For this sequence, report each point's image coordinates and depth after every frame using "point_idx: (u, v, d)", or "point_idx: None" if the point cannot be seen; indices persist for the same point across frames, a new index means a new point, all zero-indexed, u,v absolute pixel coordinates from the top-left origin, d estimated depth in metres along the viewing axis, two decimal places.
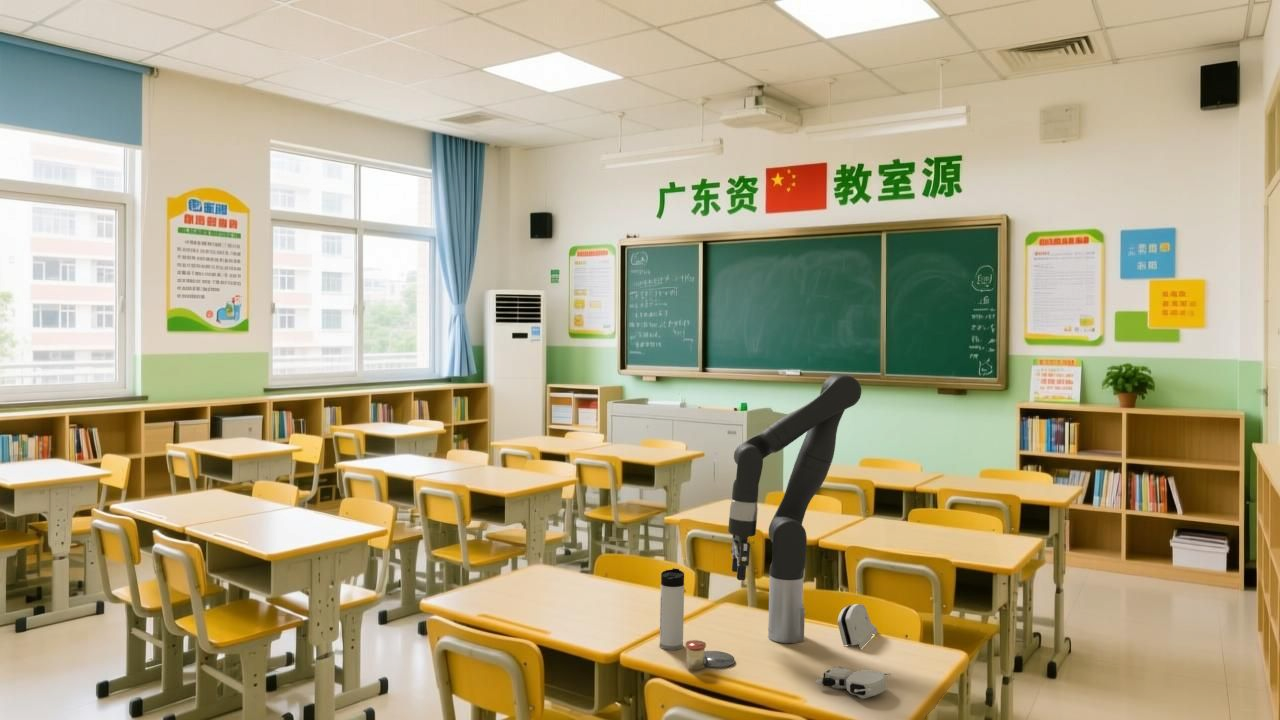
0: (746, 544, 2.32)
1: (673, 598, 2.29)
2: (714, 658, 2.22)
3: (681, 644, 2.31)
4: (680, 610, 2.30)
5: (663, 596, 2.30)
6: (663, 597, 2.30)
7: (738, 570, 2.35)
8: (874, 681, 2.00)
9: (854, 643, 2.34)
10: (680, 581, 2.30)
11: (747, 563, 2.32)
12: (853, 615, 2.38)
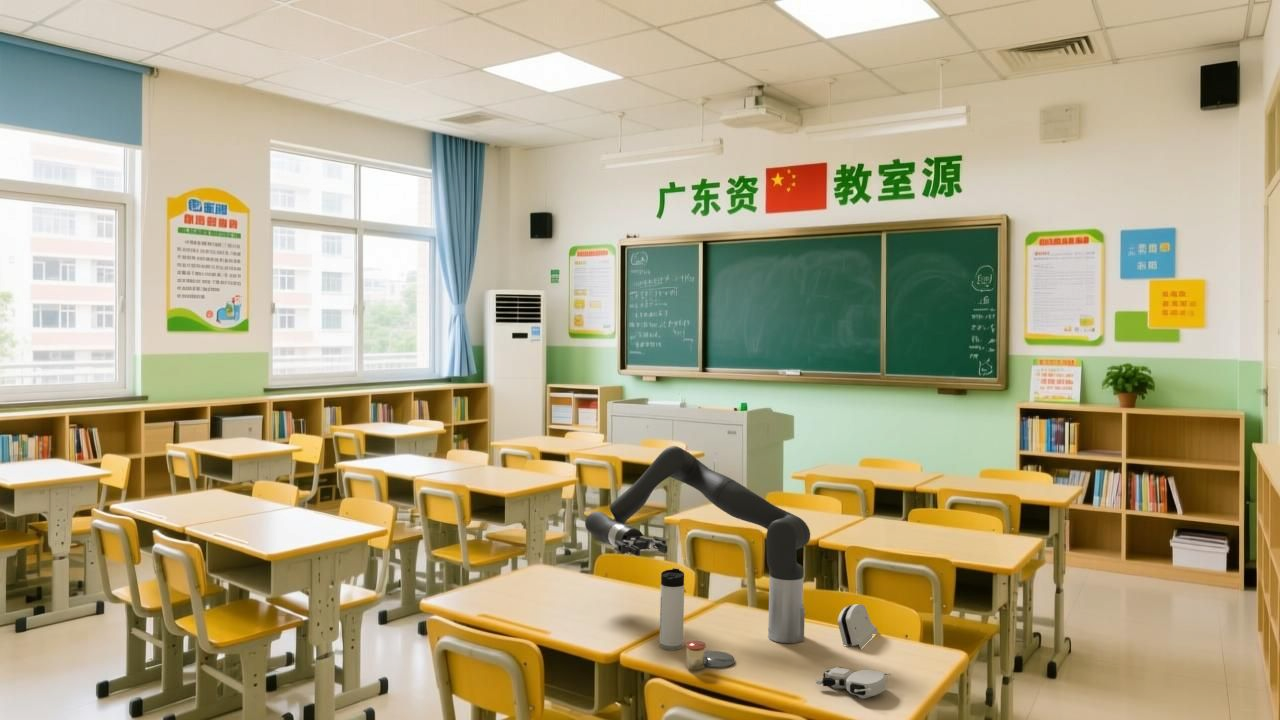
0: None
1: (673, 598, 2.29)
2: (714, 658, 2.22)
3: (681, 644, 2.31)
4: (680, 610, 2.30)
5: (663, 596, 2.30)
6: (663, 597, 2.30)
7: (633, 553, 2.42)
8: (874, 681, 2.00)
9: (854, 643, 2.34)
10: (680, 581, 2.30)
11: (621, 545, 2.43)
12: (853, 615, 2.38)
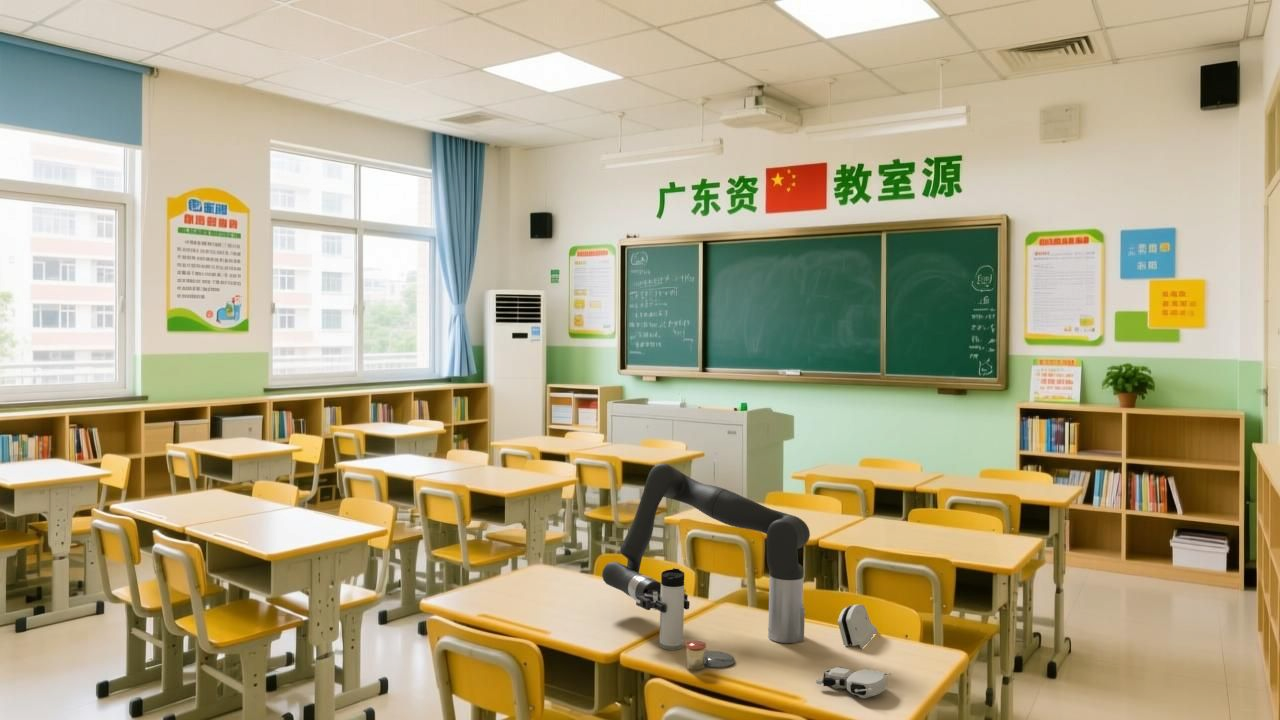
0: (636, 599, 2.36)
1: (673, 598, 2.29)
2: (714, 658, 2.22)
3: (681, 644, 2.31)
4: (680, 610, 2.30)
5: (663, 596, 2.30)
6: (663, 597, 2.30)
7: None
8: (874, 681, 2.00)
9: (855, 644, 2.33)
10: (681, 581, 2.30)
11: (646, 601, 2.32)
12: (853, 616, 2.38)
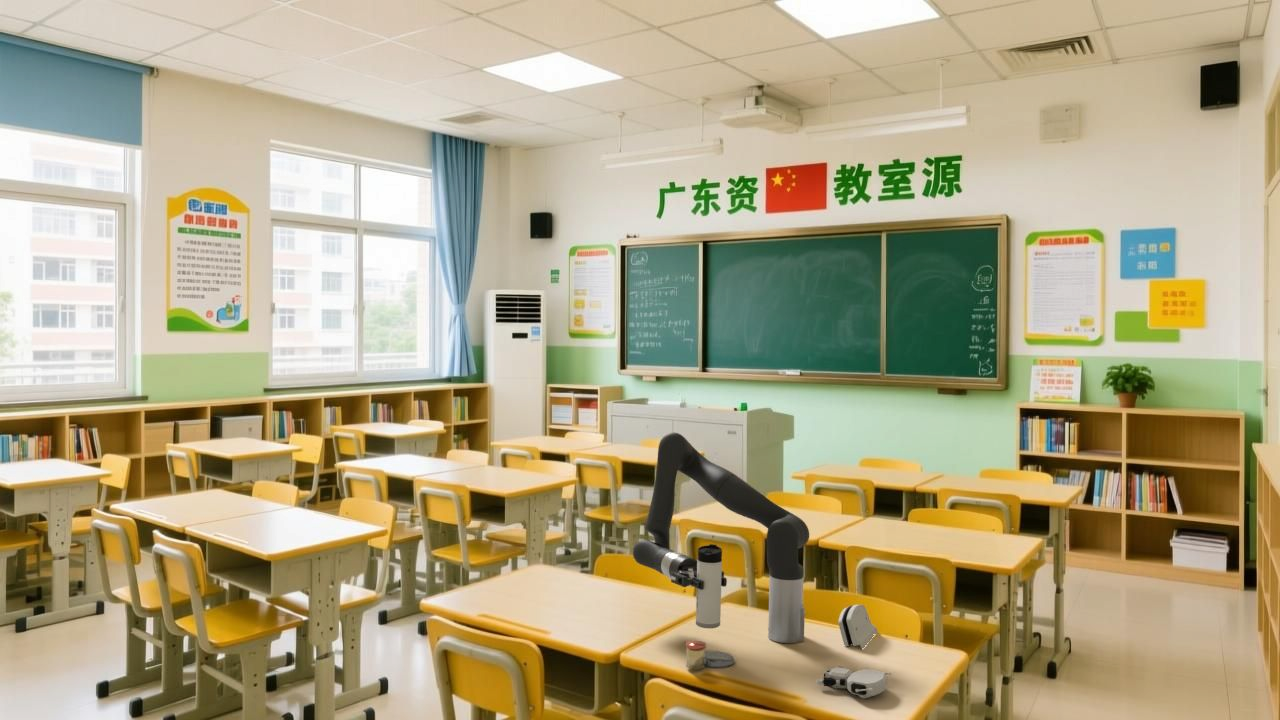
0: (671, 576, 2.27)
1: (711, 574, 2.20)
2: (714, 658, 2.22)
3: (718, 622, 2.22)
4: (717, 587, 2.21)
5: (700, 573, 2.21)
6: (700, 573, 2.21)
7: (695, 586, 2.22)
8: (875, 681, 2.00)
9: (855, 644, 2.33)
10: (718, 557, 2.21)
11: (682, 578, 2.23)
12: (854, 616, 2.38)
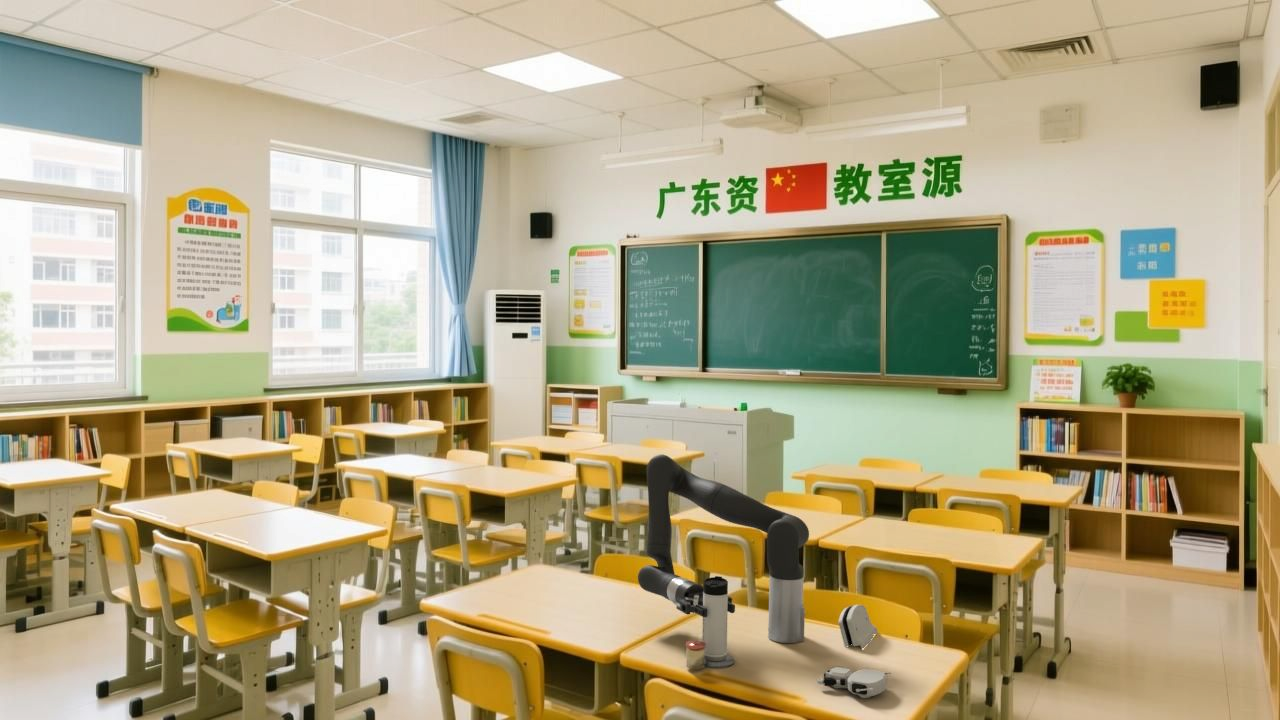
0: (676, 602, 2.26)
1: (717, 607, 2.19)
2: None
3: (725, 655, 2.21)
4: (723, 620, 2.20)
5: (706, 605, 2.20)
6: (706, 606, 2.20)
7: None
8: (875, 680, 2.00)
9: (855, 644, 2.33)
10: (724, 589, 2.20)
11: (685, 605, 2.22)
12: (854, 616, 2.37)
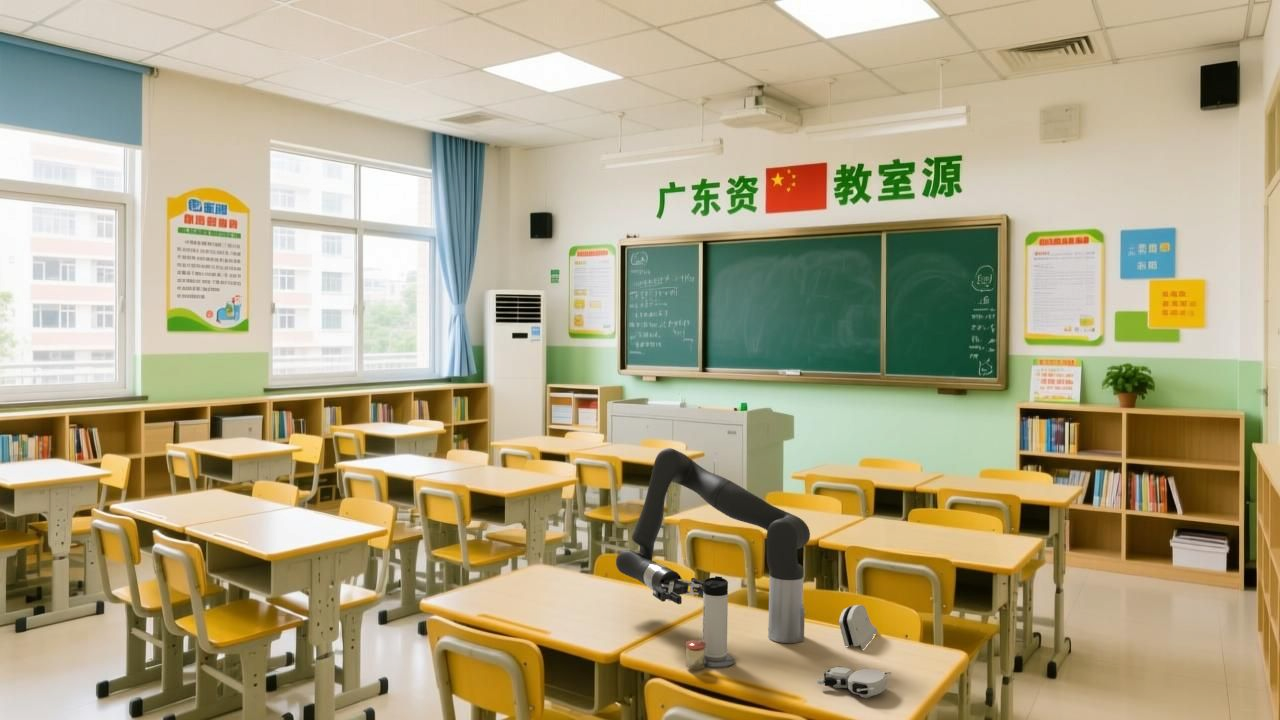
0: (653, 589, 2.37)
1: (717, 607, 2.19)
2: None
3: (725, 656, 2.21)
4: (724, 620, 2.20)
5: (706, 606, 2.20)
6: (706, 606, 2.20)
7: None
8: (876, 680, 2.00)
9: (856, 644, 2.33)
10: (724, 590, 2.20)
11: (661, 593, 2.33)
12: (854, 616, 2.37)
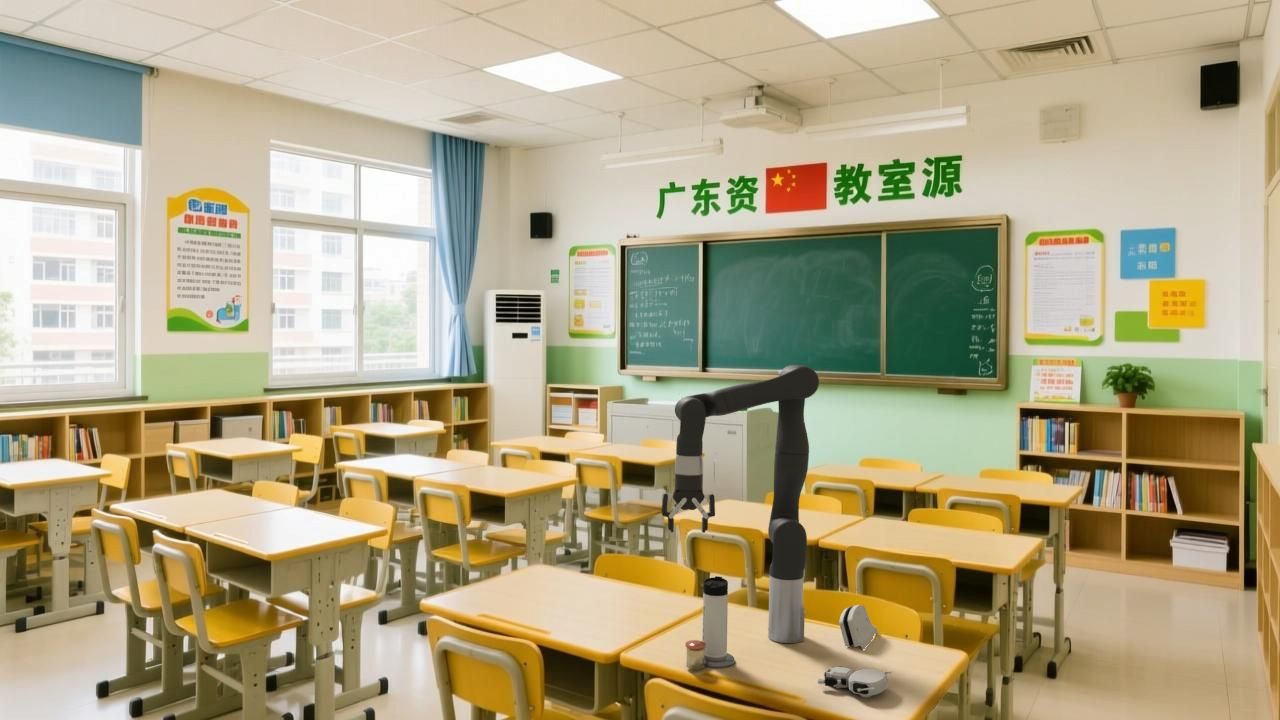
0: (663, 494, 2.33)
1: (717, 608, 2.19)
2: None
3: (725, 656, 2.21)
4: (723, 620, 2.20)
5: (706, 606, 2.20)
6: (706, 606, 2.20)
7: None
8: (876, 680, 2.00)
9: (856, 645, 2.33)
10: (724, 590, 2.20)
11: (662, 513, 2.33)
12: (854, 616, 2.37)
